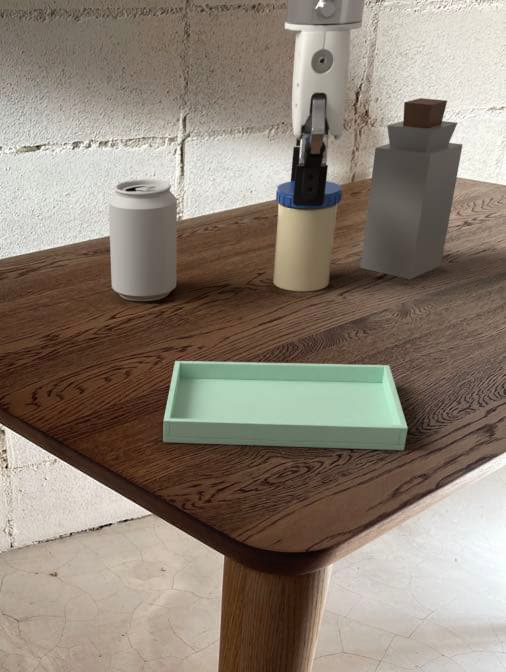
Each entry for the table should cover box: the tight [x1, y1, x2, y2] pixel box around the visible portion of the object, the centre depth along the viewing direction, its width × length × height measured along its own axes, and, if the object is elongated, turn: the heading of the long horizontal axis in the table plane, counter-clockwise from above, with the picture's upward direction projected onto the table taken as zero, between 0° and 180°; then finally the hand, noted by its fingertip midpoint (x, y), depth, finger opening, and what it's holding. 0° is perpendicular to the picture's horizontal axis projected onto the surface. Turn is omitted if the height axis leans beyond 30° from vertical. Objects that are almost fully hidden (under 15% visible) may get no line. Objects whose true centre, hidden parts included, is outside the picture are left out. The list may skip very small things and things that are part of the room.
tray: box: [163, 360, 409, 451], centre depth 74 cm, size 19×12×2 cm, turn 81°
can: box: [108, 178, 178, 302], centre depth 98 cm, size 8×8×12 cm
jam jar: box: [272, 203, 338, 292], centre depth 99 cm, size 6×6×10 cm
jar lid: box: [275, 180, 343, 209], centre depth 96 cm, size 7×7×1 cm
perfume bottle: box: [359, 97, 463, 280], centre depth 100 cm, size 7×7×18 cm
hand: (306, 193), depth 96 cm, fingers open, 8 cm apart
